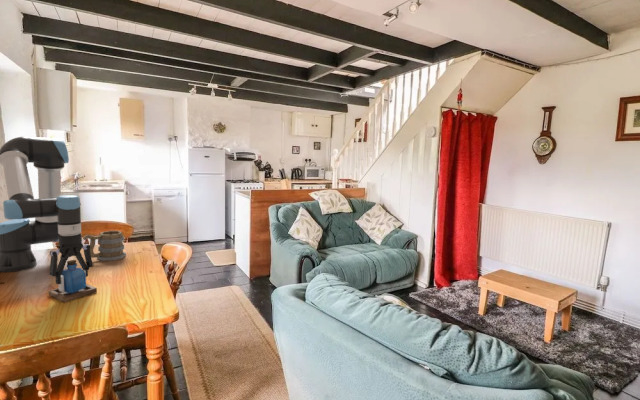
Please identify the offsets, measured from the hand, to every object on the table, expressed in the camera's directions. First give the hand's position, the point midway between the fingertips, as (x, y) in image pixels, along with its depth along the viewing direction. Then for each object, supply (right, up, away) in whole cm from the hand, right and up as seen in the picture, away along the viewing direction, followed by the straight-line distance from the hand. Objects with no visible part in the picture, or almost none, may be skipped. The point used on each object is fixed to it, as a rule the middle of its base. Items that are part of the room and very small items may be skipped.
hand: (72, 287), depth 137 cm
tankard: (-16, +4, +45) cm, 47 cm away
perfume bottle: (0, -1, 0) cm, 1 cm away
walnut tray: (0, -3, 0) cm, 3 cm away
